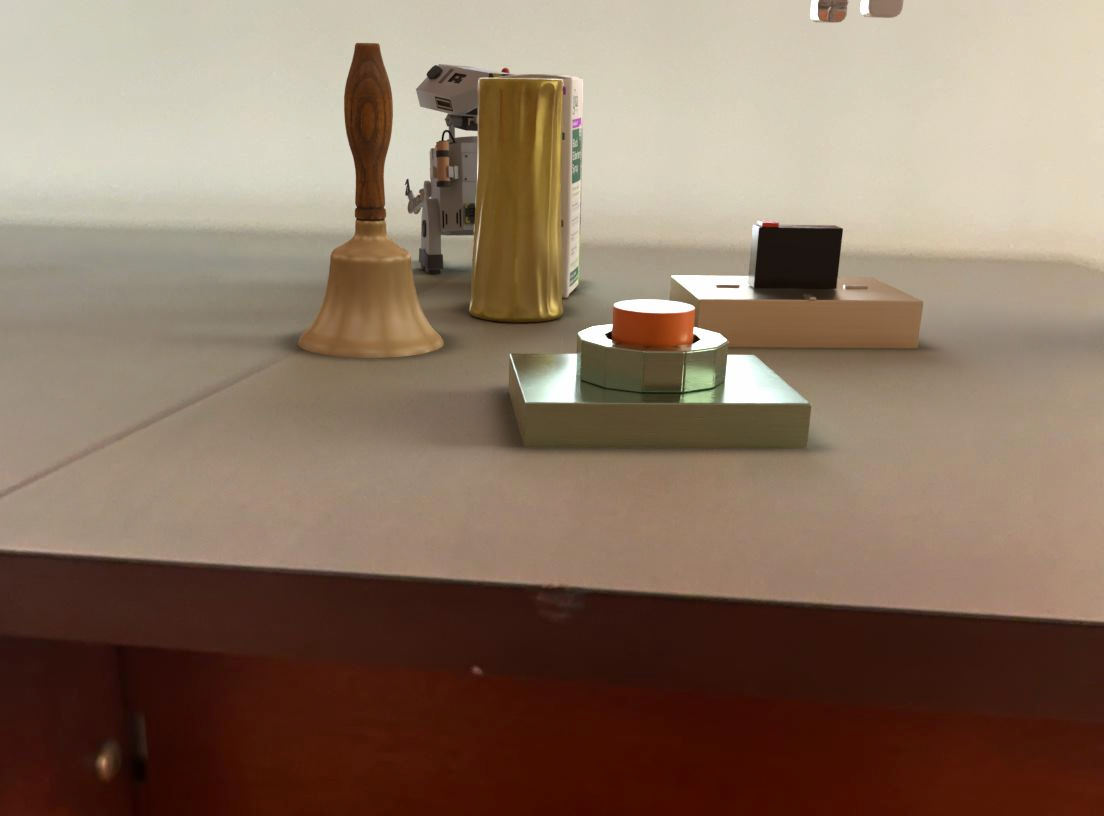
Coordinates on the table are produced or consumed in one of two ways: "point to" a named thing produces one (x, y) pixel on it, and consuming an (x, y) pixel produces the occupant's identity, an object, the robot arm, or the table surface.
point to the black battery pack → (794, 256)
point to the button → (653, 322)
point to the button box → (653, 397)
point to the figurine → (449, 160)
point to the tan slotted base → (802, 313)
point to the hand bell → (370, 241)
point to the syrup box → (569, 175)
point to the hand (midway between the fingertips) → (851, 20)
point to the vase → (518, 201)
